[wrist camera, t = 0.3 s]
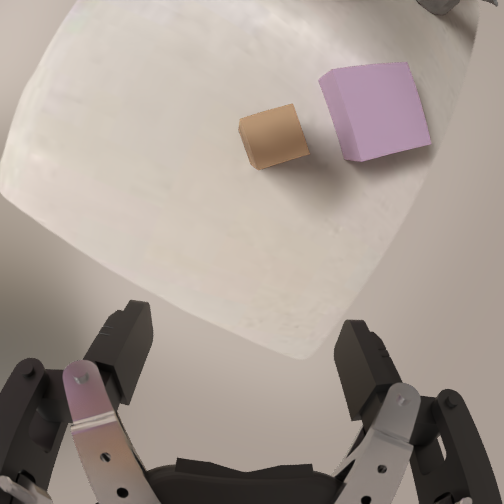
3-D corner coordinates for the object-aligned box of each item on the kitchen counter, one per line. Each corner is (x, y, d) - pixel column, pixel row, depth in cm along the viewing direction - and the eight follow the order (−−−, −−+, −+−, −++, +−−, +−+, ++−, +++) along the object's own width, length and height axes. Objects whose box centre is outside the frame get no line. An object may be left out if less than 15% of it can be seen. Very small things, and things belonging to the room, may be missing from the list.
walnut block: (238, 129, 34) (239, 118, 22) (274, 118, 33) (292, 103, 22) (250, 164, 35) (258, 170, 24) (286, 153, 35) (309, 154, 24)
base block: (317, 80, 32) (331, 69, 26) (386, 70, 31) (407, 62, 25) (343, 159, 36) (361, 161, 30) (408, 142, 35) (431, 144, 29)
